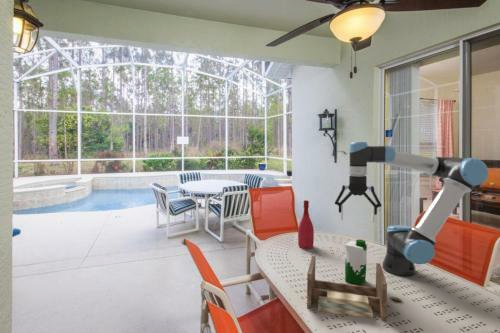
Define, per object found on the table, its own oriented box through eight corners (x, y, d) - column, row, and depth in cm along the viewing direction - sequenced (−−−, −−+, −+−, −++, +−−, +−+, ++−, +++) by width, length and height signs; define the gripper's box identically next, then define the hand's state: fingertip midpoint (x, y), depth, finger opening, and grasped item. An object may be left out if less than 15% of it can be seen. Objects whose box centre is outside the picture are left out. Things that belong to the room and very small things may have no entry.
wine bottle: (313, 249, 174) (314, 202, 172) (297, 248, 176) (298, 201, 174) (313, 244, 184) (313, 199, 182) (298, 243, 186) (298, 198, 184)
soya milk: (362, 287, 127) (363, 244, 126) (342, 281, 133) (343, 240, 132) (367, 280, 134) (369, 239, 133) (349, 275, 140) (349, 235, 138)
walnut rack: (379, 295, 121) (380, 263, 120) (385, 321, 103) (387, 284, 102) (311, 285, 129) (312, 255, 128) (307, 307, 111) (307, 273, 110)
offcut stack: (370, 310, 110) (370, 295, 109) (373, 319, 104) (373, 303, 104) (317, 304, 114) (318, 290, 114) (317, 312, 109) (318, 297, 109)
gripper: (329, 175, 130) (329, 220, 132) (388, 176, 123) (387, 224, 124) (330, 174, 137) (329, 216, 139) (386, 175, 130) (385, 220, 131)
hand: (357, 220), depth 131 cm, fingers open, 13 cm apart
